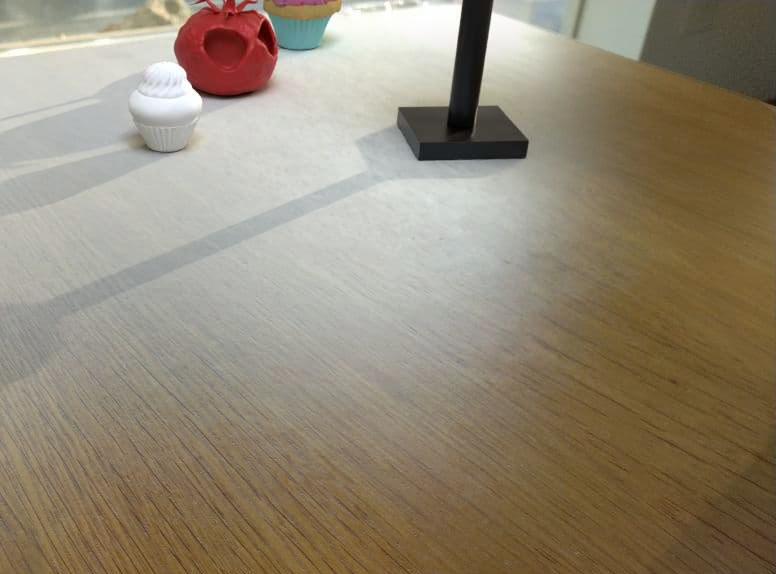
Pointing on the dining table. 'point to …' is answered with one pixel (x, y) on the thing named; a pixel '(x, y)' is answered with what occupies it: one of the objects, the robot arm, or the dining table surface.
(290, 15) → the cupcake
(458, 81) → the stand
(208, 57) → the pomegranate
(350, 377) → the dining table surface
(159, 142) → the muffin
